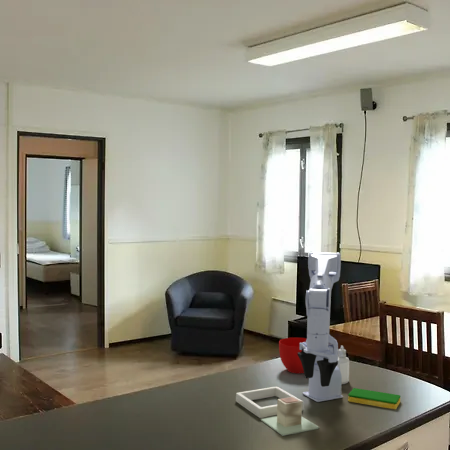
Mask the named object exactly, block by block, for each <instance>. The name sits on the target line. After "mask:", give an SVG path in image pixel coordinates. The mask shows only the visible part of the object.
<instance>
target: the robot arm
mask: <svg viewBox="0 0 450 450" xmlns="http://www.w3.org/2000/svg"><path fill="white" fill-rule="evenodd" d="M341 256H342V255H341V253H340V252H338V251H337V252H330V251H329V252H325V251H323V252H322V251H310V252H309V253H308V259H307V265H308V266H307V268H308V275H309V280H310V282H309V289H308V290H307V289H306V293H305V308H306V309H305V310H306V316H307V318H306V319H307V321H306V322H307V323H306V324H307V325H306V326H307V327H306V339H307V340H306V342H302V343H300V350H302V351H301V352H298V357H299V358H300V361H301V363H302V366H303V370H304V373H303V374H304V378H305V379H307V380H308V391H302V394H303V395H304V396H306V397H307V398H309V399H311V400H313V401H315V402H317V403H319V402H325V401H330V400H337V399H342V398H343V397H344V396H343V395H342V384H341V383H342V376H341V372H340V369H339V368H338V367H337V365H338V350H339V343H338V340H337V339H336V338H335V337H333V336H332V335H331V334H330V328H331V327H330V323H331V319H330V318H331V303H332V301H331V299H332V298H331V297H332V289H333V286H334V284H335V283H337V282H339V280H340V277H341V269H342V268H341V266H342V263H341V262H342V261H341V259H342V257H341Z"/></svg>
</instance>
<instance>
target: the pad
mask: <svg viewBox="0 0 450 450" xmlns="http://www.w3.org/2000/svg"><path fill="white" fill-rule="evenodd" d="M260 421H261V422H263V423H264V424H265V425H267V426H269V428H271V429H272V430H274V431H275V432H277V433H278V434H280V435H281V436H282V437H283V436H288V435H294V434H299V433H304V432H307V431H313V430H318V429H319V428H320V426H318V425H317V424H315V423H314V422H312V421H311V420H309V419H307V418H305V417H303V416H302V417H301V424H299V425H294V426H289V427H284V426H283V425H281V424H280V423H278V422H277V415H274V416H268V417H263V418H260Z"/></svg>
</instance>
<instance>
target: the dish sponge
mask: <svg viewBox="0 0 450 450" xmlns="http://www.w3.org/2000/svg"><path fill="white" fill-rule="evenodd" d="M347 396H348V397H347V401H348V402H349V403H357V404H363V405H367V406H374V407H380V408H383V409H384V408H385V409H390V410H397V408H398V407H399V405H400V403H401V395H400V394H396V393H388V392H384V391H383V392H381V391H377V390H376V391H375V390H369V389H363V388H356V387H354V388H352V390H350V392H349V393H348V394H347Z"/></svg>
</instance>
